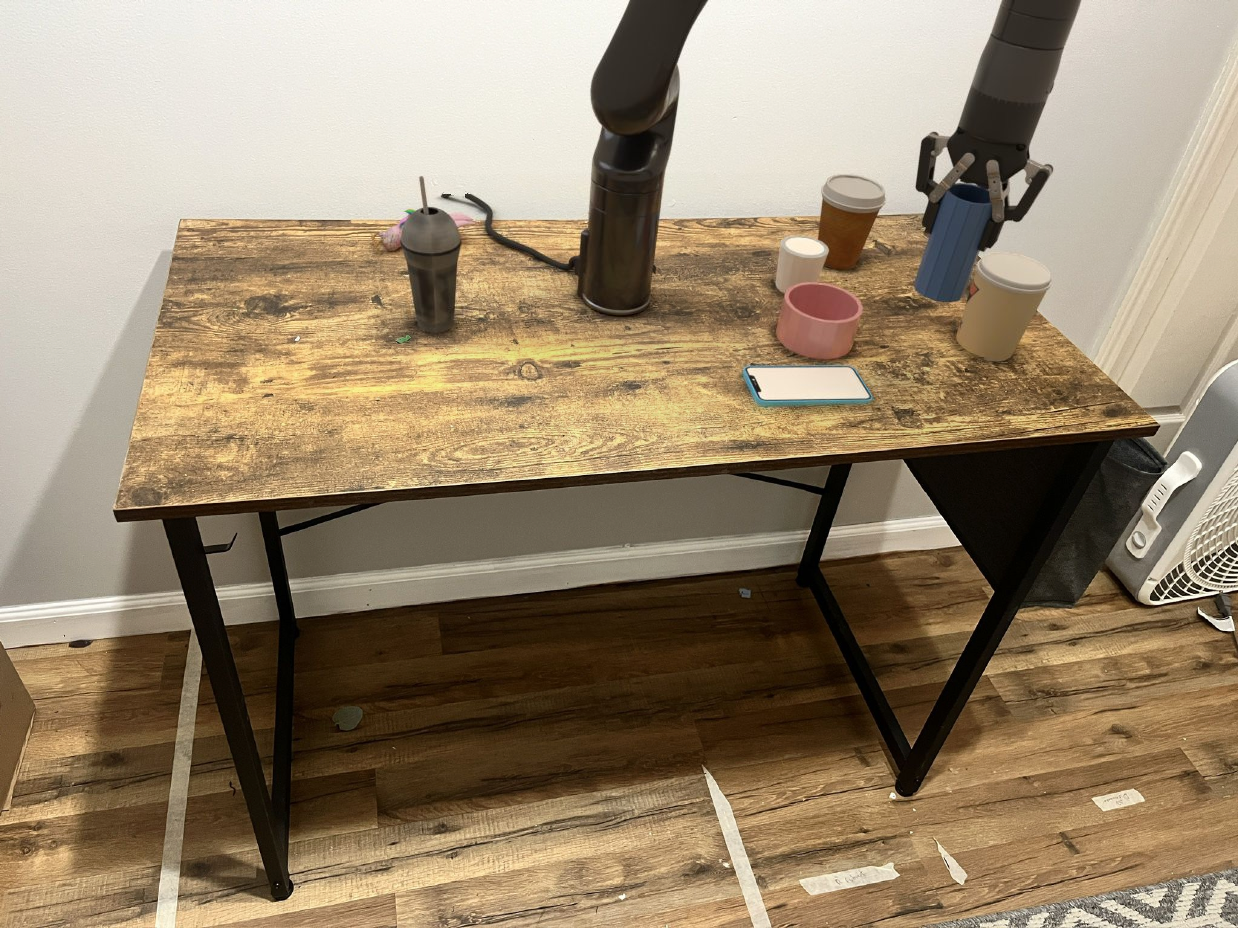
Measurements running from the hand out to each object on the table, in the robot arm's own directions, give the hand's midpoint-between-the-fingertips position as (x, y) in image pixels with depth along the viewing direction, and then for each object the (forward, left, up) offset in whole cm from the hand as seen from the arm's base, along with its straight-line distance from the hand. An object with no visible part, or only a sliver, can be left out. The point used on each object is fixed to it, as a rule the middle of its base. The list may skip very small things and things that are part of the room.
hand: (956, 239), depth 101 cm
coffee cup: (+6, +16, -20) cm, 26 cm away
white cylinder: (-21, +12, -20) cm, 32 cm away
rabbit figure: (-69, -14, -20) cm, 74 cm away
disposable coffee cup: (-20, +25, -20) cm, 38 cm away
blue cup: (0, 0, -7) cm, 7 cm away
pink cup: (-13, +1, -20) cm, 24 cm away
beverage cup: (-53, -29, -20) cm, 64 cm away
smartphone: (-9, -10, -20) cm, 24 cm away
